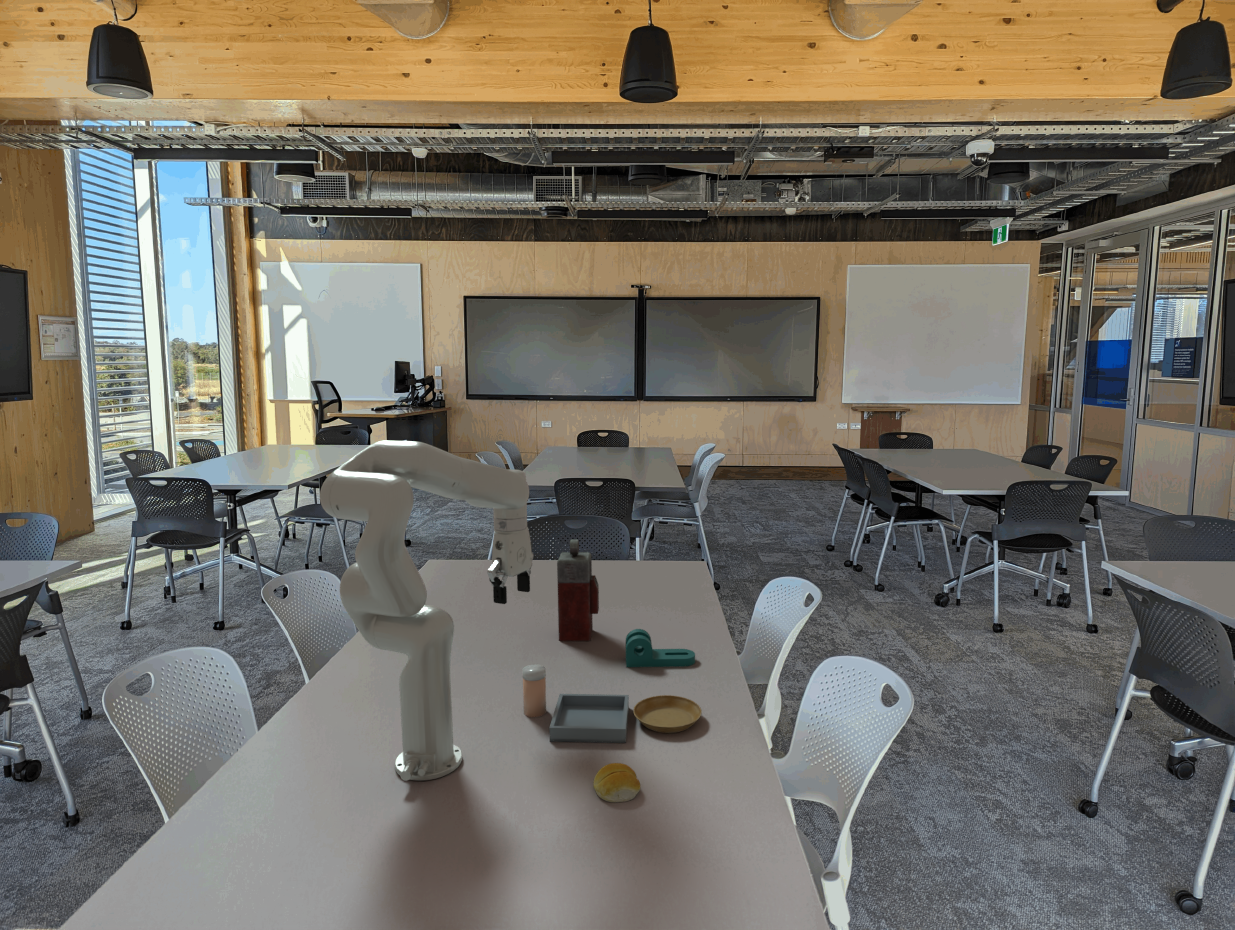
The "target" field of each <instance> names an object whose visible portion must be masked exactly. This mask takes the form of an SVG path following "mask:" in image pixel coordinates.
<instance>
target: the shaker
mask: <svg viewBox="0 0 1235 930" xmlns="http://www.w3.org/2000/svg"><path fill="white" fill-rule="evenodd" d="M546 670H547V669H546V666H545V665H542V664H538V663H537V664H535V663H534V664H528V665H526V666H524V667H523V668H522V669H521V671H522V673H521V674H522V692H523V693H522V696H523V715H525V716H526V717H529V718H540V717H543V716H544V715H546V713H547V691H546V690H547V686H546V685H547V684H546V682H547V681H546V676H547V674H546Z"/></svg>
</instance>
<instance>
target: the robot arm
mask: <svg viewBox="0 0 1235 930" xmlns="http://www.w3.org/2000/svg"><path fill="white" fill-rule="evenodd" d="M413 489H416V490H421V491H423V492H428V493H431V494H434V495H436V496H439V497H443V498H447V499H452V500H460V501H465V502H466V503H467V504H469V505H470V506H472V507H475V508H483V509H493V540H492V551H491V552H492V554H491V559H492V560H491V563H492V564H491V565H490V567H489V568H488V569H487V570H486V571H487V572H486V573H487V576H488V578H489V579H488V580H489V582H490V583H491V586H492V589H493V590H492V591H493V596H492V599H493V603H495V604H500V605H505V604H507V603H508V600H507V599H508V597H507V593H508V592H507V589H508V588H507V586H506V583H507V579H508V577H509V578H513V577H516V583H517V584H516V585H517V588H516V589H517V592H521V593H522V592H523V593H529V592H530V591H531V579H530V578H531V577H530V576H531V574H532V566H533V559H534V553H533V552H532V542H531V535H530V531H529V527H528V513H527V512H528V508H527V507H528V506H527V505H528V500H529V496H530V487H529V484H528V482H527V476H526V473H525V471H523V470H520V469H509V468H508V469H507V468H503V467H500V466H495V465H492V464H488V463H483V462H480V461H476V460H473V459H469V458H467V457H466V458H465V457H461V456H458V455H456V454H454V453H451V452H448V451H446V450H443V449H441V448H439V447H436V446H434V445H431V444H428V443H425V442H423V441H415V440H413V441H412V440H391V439H390V440H386V439H384V440H379V441H376V442H374V443H372V444H370V445H368V446H366V447H365V448H364V449H362V450H360V451H359V452H358V453H356V454H355V455H354V456H352V457H351V458H349V459H348V460H347V461H346V462H344V463H343V464H341V465H340V466H338V467H337V468H335V470H333V471H332V472H330V474H329V475H328V476H327V477H326V478H325V480H324V482H323V483H322V486H321V488H320V492H319V501H320V504H321V507H322V509H323V510H324V511H325V513H326V514H328V515H329V516H331V517H333V518H336V519H340V520H347V521H358V522H359V521H360V522H366V525H365V527H364V530H363V531H362V534H361V537H360V539H359V540H358V543H357V545H356V548H355V551H354V552H355V553H354V557H355V559H354V560H355V562H353V563H352V564H351V565H349V567H347V568H346V570H345V571H344V573H343V574H342V576H341V579H340V583H339V597H340V601H341V604H342V606H343V608H344V609H345V611H346V613H347V615H348V616H349V618H350V619H351V621H352V622H353V624H354V625H355V627H356V628H357V630H358V631H359V633H360V634H361V636H362V638H364V640H365V642H367V643H368V645H370V646H372V647H373V648H375V649H379V650H383V651H388V652H394V653H397V654H398V653H399V654H402V655H406V656H407V658H408V659H407V662H406V663H405V665H404V667H403V668H402V669H401V672H400V675H399V679H398V680H399V682H398V688H399V701H400V703H399V704H400V717H401V718H400V719H401V721H400V724H401V725H400V726H401V742H402V743H401V744H402V752H401V753H399V755H398V756H397V757H396V759H395V761H394V769H395V772H396V773H397V775H399V776H400V778H401V780H403V781H405V782H407V781H430V780H435V779H439V778H442V777H444V776H445V777H446V776H447V775H449V774H451V773H452V772H454V771H455V770H457V769H458V767H459V766H460V765H461V763H462V762H463V761H462V760H463V752H462V750H461V748H460V747H458V745H455V744H454V731H453V730H454V729H453V727H454V726H453V725H454V724H453V702H452V681H451V680H452V678H451V677H452V676H451V656H452V648H453V640H454V635H455V624H454V619H453V618H452V615H451V614H450V613H449V612H448V611H447V610H445V609H443V608H441V607H440V606H439V607H438V606H436V605H432V604H426V603H427V599H428V590H427V588H426V585H425V581H424V580H423V578H422V576H421V574H420V571H419V570H418V569H417V566H416V564H415V563H414V561H413V558H412V557H411V555H410V554H409V551H408V549H407V547H406V543H405V535H406V530H407V527H408V523H409V519H410V516H411V513H412V510H413V506H414V502H415V501H414V500H415V499H414V491H413ZM500 577H501V579H500Z"/></svg>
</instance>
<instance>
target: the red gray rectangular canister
mask: <svg viewBox="0 0 1235 930" xmlns="http://www.w3.org/2000/svg"><path fill="white" fill-rule="evenodd" d="M592 560H593V559H592V553H591V552H588V551H587V552H585V551H584V552H580V542H579V539H570V540H569V551H568V552H567V551H566V552H560V555H559V557H558V560H557V562H556V569H557V571H556V573H557V574H556V575H557V576H556V577H557V579H556V580H557V614H558V615H557V616H558V617H557V619H558V620H557V621H558V622H557V623H558V624H557V625H558V641H560V642H590V641H591V639H592V634H593V615H598V614H599V611H600V604H599V603H600V601H599V600H600V594H599V593H600V592H599V591H600V590H599V589H600V588H599V583H598V579H597V576H596V575H595V574H594V575H593V574H592V573H593V568H592V567H593V565H592Z"/></svg>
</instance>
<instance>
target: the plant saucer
mask: <svg viewBox="0 0 1235 930" xmlns="http://www.w3.org/2000/svg"><path fill="white" fill-rule="evenodd" d="M633 714H634V717H635V718H636V719H637V721H638V722H640V724H641V725H643V726H644V727H645V728H647V729H649V730H651V731H654V732H657V733H664V734H675V733H679V732H684V731H685V730H688V729H690V727H692V726H693V725H695V723H696V722H697V721H699V719H700V718H701V716H702V708H701V707H700V705H699V704H698V703H697V702H695V701H693V700H692V699H689V698H686V697H684V696H683V697H682V696H678V695H671V694H668V695H667V694H663V695H654V696H650V697H647V698H644V699H641V700H640V701H638V702H637V703H636V704H635V705H634V707H633Z"/></svg>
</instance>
